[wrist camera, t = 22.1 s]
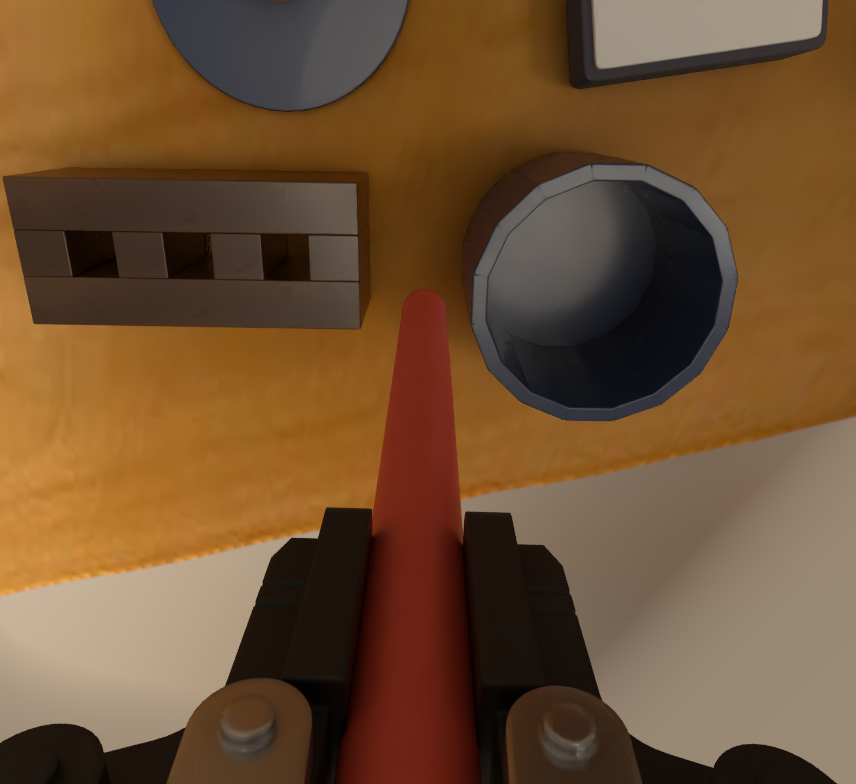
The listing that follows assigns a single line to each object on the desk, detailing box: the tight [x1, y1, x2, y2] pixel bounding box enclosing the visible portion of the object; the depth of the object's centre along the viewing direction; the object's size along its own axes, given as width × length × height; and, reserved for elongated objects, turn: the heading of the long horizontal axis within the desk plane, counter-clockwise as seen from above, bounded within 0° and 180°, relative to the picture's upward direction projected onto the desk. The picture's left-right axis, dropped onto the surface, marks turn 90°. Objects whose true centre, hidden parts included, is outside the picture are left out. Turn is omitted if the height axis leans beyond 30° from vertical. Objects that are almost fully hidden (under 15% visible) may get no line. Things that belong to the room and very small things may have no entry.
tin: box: [462, 153, 738, 421], centre depth 33 cm, size 11×11×10 cm
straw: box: [334, 289, 482, 784], centre depth 16 cm, size 2×2×20 cm
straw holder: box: [3, 167, 370, 329], centre depth 35 cm, size 7×16×6 cm, turn 89°
